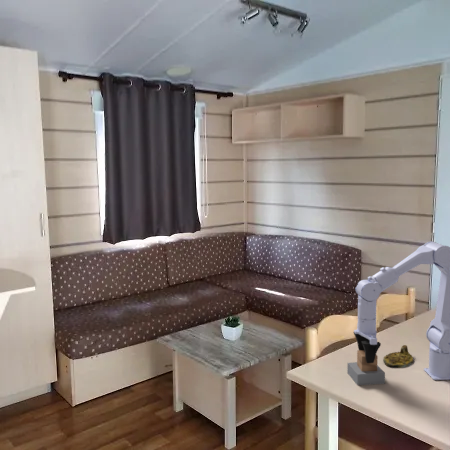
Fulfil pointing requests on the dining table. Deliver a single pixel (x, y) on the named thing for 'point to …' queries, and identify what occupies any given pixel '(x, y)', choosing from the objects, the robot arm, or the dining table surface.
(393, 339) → the dining table surface
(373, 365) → the walnut cube
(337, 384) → the dining table surface
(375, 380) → the grey block
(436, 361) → the robot arm
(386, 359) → the seal
